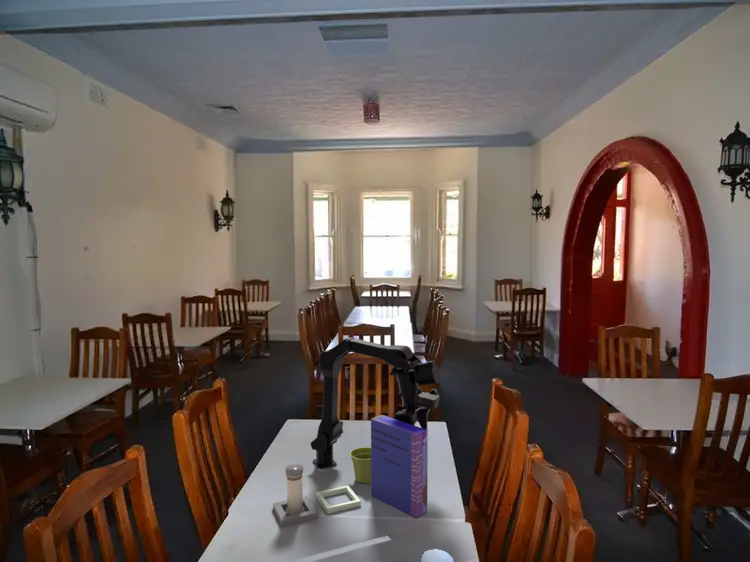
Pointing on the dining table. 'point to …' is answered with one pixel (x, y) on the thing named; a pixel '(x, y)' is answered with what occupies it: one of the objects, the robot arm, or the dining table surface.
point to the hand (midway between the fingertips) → (420, 436)
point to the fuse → (294, 489)
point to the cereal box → (399, 465)
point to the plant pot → (362, 464)
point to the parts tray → (338, 507)
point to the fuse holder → (296, 518)
